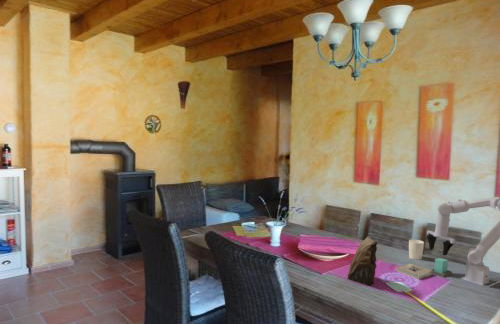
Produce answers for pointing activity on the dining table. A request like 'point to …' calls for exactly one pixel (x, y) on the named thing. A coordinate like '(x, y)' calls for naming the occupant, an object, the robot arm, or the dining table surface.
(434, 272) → the dark brown square tray
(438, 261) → the mint green block
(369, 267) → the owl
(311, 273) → the dining table surface
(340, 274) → the dining table surface
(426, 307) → the dining table surface
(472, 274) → the robot arm
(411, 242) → the beige tapered cup
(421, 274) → the port
